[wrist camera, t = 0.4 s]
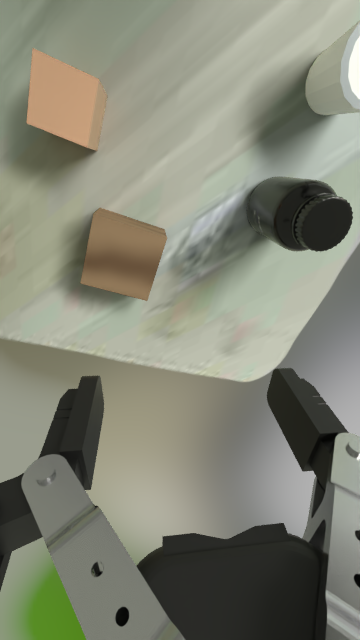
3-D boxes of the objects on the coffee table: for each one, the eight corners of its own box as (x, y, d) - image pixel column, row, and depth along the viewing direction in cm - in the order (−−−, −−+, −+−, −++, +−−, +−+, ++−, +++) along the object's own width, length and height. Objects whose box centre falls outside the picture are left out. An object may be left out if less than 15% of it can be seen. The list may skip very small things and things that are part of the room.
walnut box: (100, 207, 32) (93, 213, 28) (164, 228, 34) (167, 238, 30) (88, 269, 36) (80, 283, 31) (146, 285, 38) (147, 300, 33)
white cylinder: (305, 133, 31) (345, 125, 25) (293, 58, 27) (336, 28, 21) (364, 104, 30) (420, 88, 24) (359, 23, 27) (423, -20, 21)
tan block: (54, 71, 26) (32, 48, 21) (107, 95, 27) (99, 79, 22) (48, 131, 28) (26, 123, 23) (97, 151, 29) (87, 147, 24)
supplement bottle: (235, 223, 35) (275, 247, 24) (262, 166, 32) (319, 166, 21) (279, 242, 37) (333, 271, 26) (308, 190, 34) (381, 200, 23)
